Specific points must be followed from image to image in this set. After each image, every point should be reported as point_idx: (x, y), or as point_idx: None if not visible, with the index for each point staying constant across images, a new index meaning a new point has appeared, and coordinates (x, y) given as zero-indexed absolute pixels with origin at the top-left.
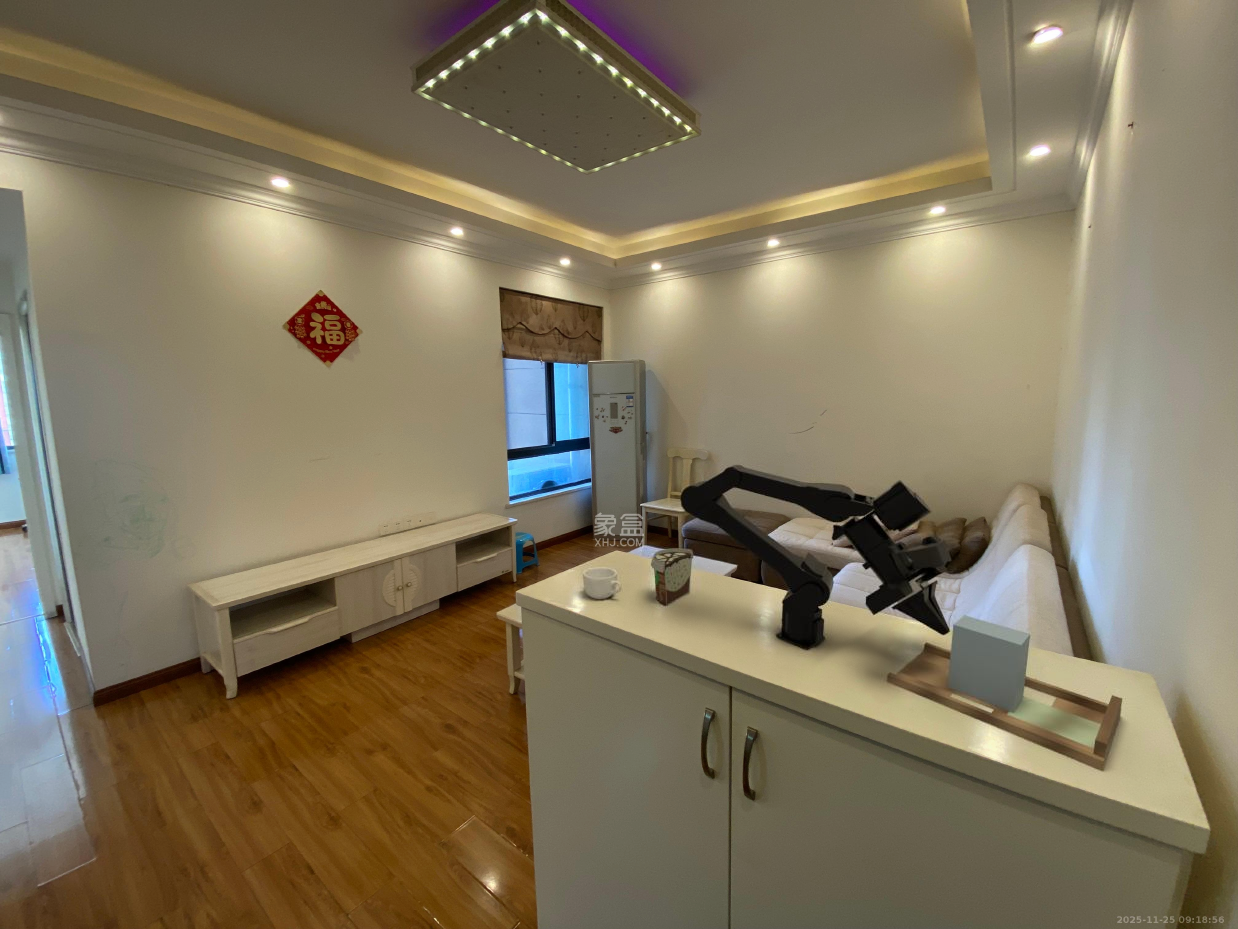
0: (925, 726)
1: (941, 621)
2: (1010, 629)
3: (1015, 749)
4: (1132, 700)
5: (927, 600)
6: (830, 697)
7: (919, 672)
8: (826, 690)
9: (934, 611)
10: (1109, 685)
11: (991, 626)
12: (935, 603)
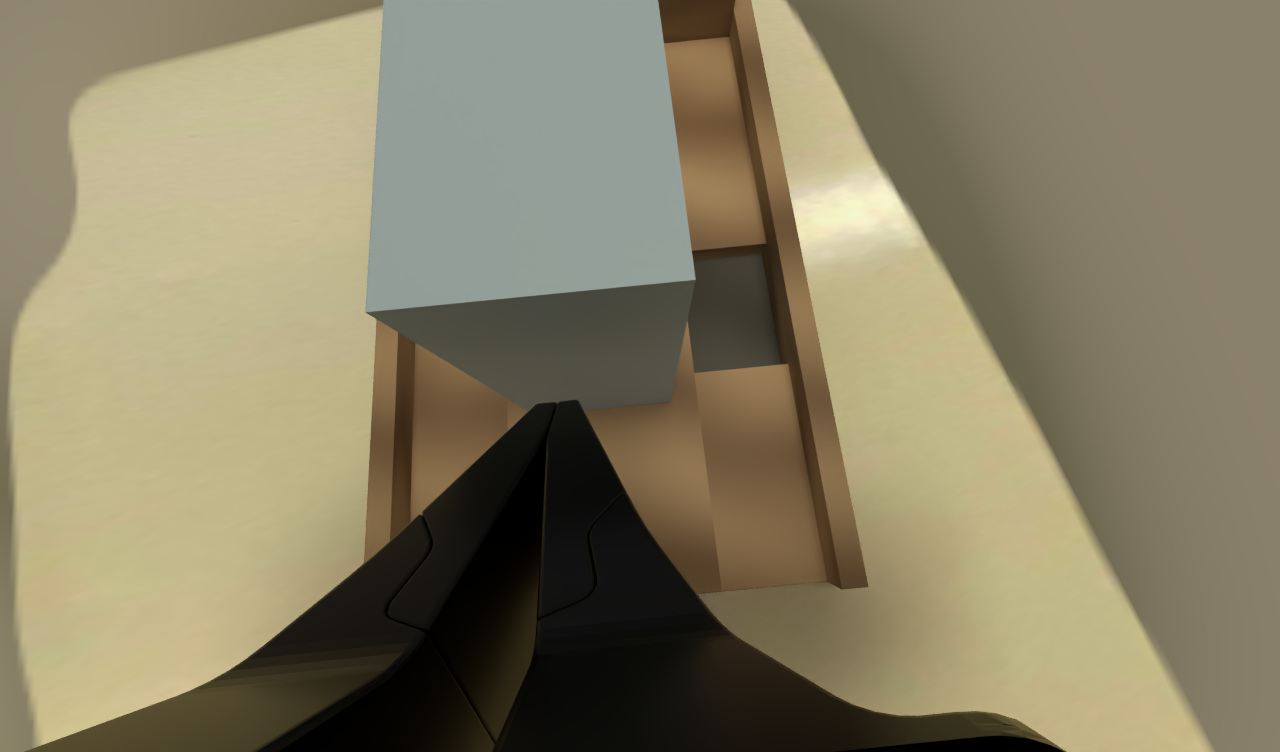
0: (940, 361)
1: (575, 441)
2: (409, 9)
3: (800, 174)
4: (236, 81)
5: (592, 633)
6: (1137, 686)
7: (647, 527)
8: (1113, 735)
9: (590, 504)
10: (171, 134)
11: (458, 97)
12: (421, 569)
